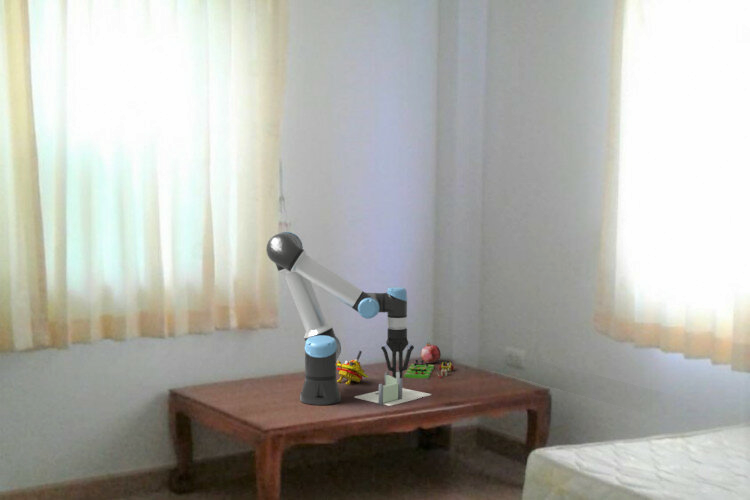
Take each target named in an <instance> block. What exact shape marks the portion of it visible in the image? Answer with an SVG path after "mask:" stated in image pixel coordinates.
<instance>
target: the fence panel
mask: <svg viewBox="0 0 750 500" xmlns="http://www.w3.org/2000/svg"><path fill="white" fill-rule="evenodd" d="M393 383H397V379H396V378H394V377H392V375H390V372H384V386H385V385H389V384H393Z"/></svg>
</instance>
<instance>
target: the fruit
mask: <svg viewBox="0 0 750 500" xmlns="http://www.w3.org/2000/svg"><path fill="white" fill-rule="evenodd" d="M441 356H442V354H441V350H440V348H439V346H437V345H435V344H431V342H430V341H428V342H427V343H426V345H425V346H424V347H422V349H421V352H420V358H421V361H422V360H424V361H423V363H424V364H432V363H436V362H437V361H439V360H440V359H441Z"/></svg>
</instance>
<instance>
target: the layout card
mask: <svg viewBox="0 0 750 500" xmlns="http://www.w3.org/2000/svg"><path fill="white" fill-rule="evenodd" d="M429 396H432V393H427V392H423V391H418V390H413V389H408V388H404V387H402V399H397V400H393V401H389V402H385V403H383V406H388V407H391V406H396V405H400V404H404V403H407V402H411V401H415V400H417V399H421V398H422V397H423V398H427V397H429ZM354 399H358V400H363V401H367V402H371V403H375V404H379V390H376V391H373V392H368V393H364V394H359V395H356V396H354Z"/></svg>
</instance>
